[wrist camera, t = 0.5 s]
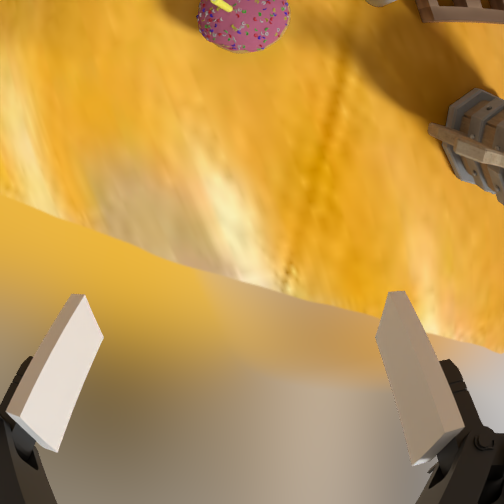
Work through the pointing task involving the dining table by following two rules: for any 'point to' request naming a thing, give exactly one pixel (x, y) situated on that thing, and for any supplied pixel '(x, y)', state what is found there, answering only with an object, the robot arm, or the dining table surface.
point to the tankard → (475, 140)
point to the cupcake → (243, 23)
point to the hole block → (461, 11)
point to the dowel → (379, 2)
